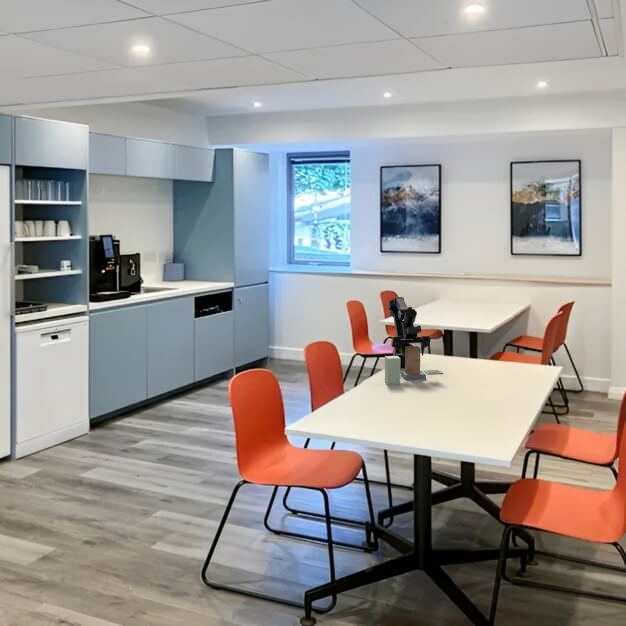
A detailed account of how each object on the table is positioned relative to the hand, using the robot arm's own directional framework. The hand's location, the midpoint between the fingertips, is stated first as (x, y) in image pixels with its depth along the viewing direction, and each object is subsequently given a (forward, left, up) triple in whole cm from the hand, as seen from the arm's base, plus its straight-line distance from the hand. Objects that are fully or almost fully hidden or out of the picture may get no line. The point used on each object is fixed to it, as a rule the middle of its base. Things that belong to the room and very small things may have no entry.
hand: (413, 355), depth 363 cm
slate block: (0, 0, -12) cm, 12 cm away
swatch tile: (-10, +13, -11) cm, 20 cm away
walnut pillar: (0, 0, -8) cm, 8 cm away
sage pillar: (+11, -13, -11) cm, 20 cm away
